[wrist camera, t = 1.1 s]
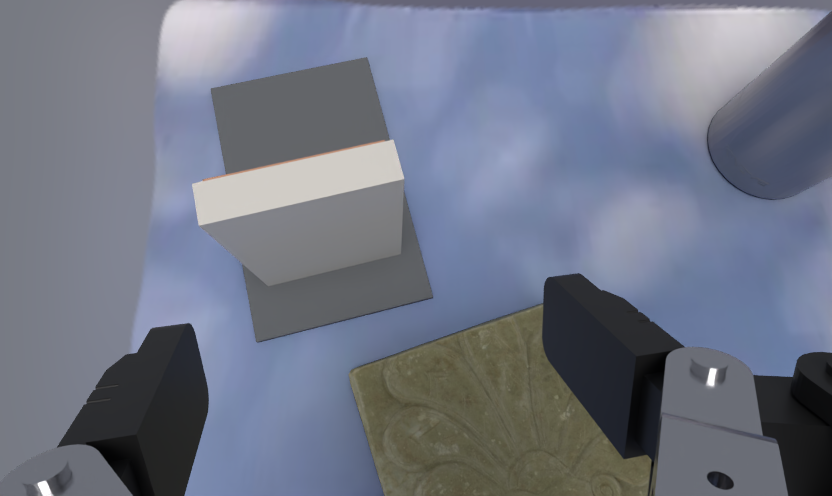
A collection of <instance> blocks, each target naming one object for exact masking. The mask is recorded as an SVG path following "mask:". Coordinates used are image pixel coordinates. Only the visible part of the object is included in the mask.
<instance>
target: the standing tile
mask: <svg viewBox="0 0 832 496" xmlns="http://www.w3.org/2000/svg"><path fill="white" fill-rule="evenodd" d="M192 186H193V192H194V198H195V205H196V211H197V217H198V223H199V226H200V227H201V228H202V229H203V230H204V231H205V232H207V233H208V234H209V235H210V236H211V237H212V238H213V239H215V240H216V241H217V242H218V243H219V244H220V245H221V246H223V247H224V248H225V249H226V250H227V251H228V252H229V253H231V254H232V255H233V256H234V257H235V258H236V259H237V260H239V261H240V262H241V263H242V264H243V265H244V266H245V267H247V268H248V269H249V270H250V271H251V272H252V273H253V274H255V275H256V276H257V277H258V278H259V279H260V280H261V281H263V282H264V283H265V284H266V285H267V286H272V285H276V284H280V283H284V282H288V281H292V280H296V279H300V278H305V277H309V276H313V275H317V274H321V273H325V272H329V271H333V270H337V269H341V268H346V267H350V266H354V265H358V264H362V263H366V262H370V261H374V260H378V259H383V258H387V257H391V256H395V255H399V254H401V243H402V220H403V197H404V176H403V172H402V169H401V165H400V162H399V158H398V154H397V151H396V147H395V144H394V140H389V141H385V140H381V141H377V142H372V143H368V144H363V145H359V146H354V147H349V148H345V149H340V150H336V151H331V152H327V153H322V154H317V155H313V156H308V157H304V158H299V159H295V160H290V161H285V162H281V163H276V164H272V165H267V166H263V167H258V168H253V169H249V170H244V171H240V172H235V173H231V174H226V175H221V176H217V177H212V178H208V179H203V181H202V182H198V183H193V184H192Z"/></svg>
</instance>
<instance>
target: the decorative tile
mask: <svg viewBox="0 0 832 496" xmlns="http://www.w3.org/2000/svg"><path fill="white" fill-rule="evenodd" d="M542 324H543V303H542V304H539V305H536V306H533V307H530V308H527V309H524V310H521V311H518V312H515V313H512V314H509V315H506V316H503V317H500V318H496V319H493V320H490V321H487V322H485V323H482V324H479V325H476V326H473V327H471V328H468V329H465V330H462V331H459V332H456V333H454V334H451V335H448V336H445V337H442V338H439V339H436V340H433V341H430V342H427V343H424V344H421V345H418V346H416V347H413V348H410V349H408V350H405V351H402V352H399V353H397V354H394V355H391V356H388V357H385V358H383V359H380V360H377V361H374V362H371V363H368V364H365V365H362V366H359V367H357V368H354V369H352V370H351V371H350V373H349V378H350V383H351V387H352V390H353V393H354V397H355V400H356V403H357V407H358V410H359V413H360V416H361V420H362V423H363V426H364V430H365V433H366V436H367V440H368V443H369V446H370V450H371V453H372V456H373V460H374V463H375V467H376V470H377V473H378V476H379V480H380V483H381V486H382V489H383V493H384V496H647V491H648V482H649V473H650V466H651V459H650V458H649V456H648V455H644V456H639V457H634V458H629V459H623V458H622V456H621V455H620V454H619V453H618V451H617V450H616V449H615V447H614V446H613V445H612V443H611V442H610V441H609V439H608V438H607V437H606V436H605V434H604V433H603V432H602V430H601V429H600V428H599V426H598V425H597V424H596V422H595V421H594V420H593V419H592V417H591V416H590V415H589V413H588V412H587V411H586V409H585V408H584V407H583V405H582V404H581V403H580V402H579V400H578V399H577V398H576V396H575V395H574V394H573V392H572V391H571V390H570V388H569V387H568V386H567V385H566V383H565V382H564V381H563V379H562V378H561V377H560V375H559V374H558V373H557V371H556V370H555V369H554V368H553V366H552V365H551V364H550V362H549V361H548V359H547V357H546V354H545V351H544V348H543V342H542Z"/></svg>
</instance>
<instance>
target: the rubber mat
mask: <svg viewBox="0 0 832 496" xmlns="http://www.w3.org/2000/svg"><path fill="white" fill-rule="evenodd" d="M211 94H212V99H213V105H214V110H215V116H216V121H217V127H218V132H219V138H220V143H221V149H222V155H223V160H224V166H225V171H226V174H231V173H235V172H240V171H244V170H249V169H253V168H258V167H263V166H267V165H272V164H276V163H281V162H285V161H290V160H295V159H299V158H304V157H308V156H313V155H317V154H322V153H327V152H331V151H336V150H340V149H345V148H349V147H354V146H359V145H363V144H368V143H372V142H377V141H381V140H385V141H389V140H390V139H389V135H388V132H387V128H386V124H385V121H384V117H383V113H382V110H381V106H380V103H379V99H378V95H377V92H376V88H375V84H374V81H373V77H372V73H371V70H370V66H369V63H368V59H367V57H366V58H361V59H356V60H351V61H346V62H341V63H336V64H331V65H326V66H321V67H316V68H311V69H306V70H301V71H296V72H291V73H286V74H281V75H276V76H271V77H266V78H261V79H256V80H251V81H246V82H241V83H236V84H231V85H226V86H221V87H216V88H211ZM242 266H243V271H244V277H245V282H246V288H247V293H248V299H249V304H250V310H251V315H252V321H253V327H254V332H255V338H256V342H262V341H266V340H270V339H273V338H277V337H281V336H285V335H289V334H293V333H297V332H301V331H305V330H309V329H313V328H317V327H321V326H325V325H328V324H332V323H336V322H340V321H344V320H348V319H352V318H356V317H360V316H364V315H368V314H372V313H376V312H379V311H383V310H387V309H391V308H395V307H399V306H403V305H407V304H411V303H415V302H419V301H423V300H427V299H431V298H433V295H432V291H431V288H430V284H429V281H428V277H427V273H426V270H425V266H424V262H423V259H422V255H421V251H420V248H419V244H418V241H417V237H416V233H415V230H414V226H413V222H412V219H411V215H410V211H409V208H408V204H407V201H406V197H405V193H404V197H403V220H402V243H401V254H399V255H395V256H391V257H387V258H383V259H378V260H374V261H370V262H366V263H362V264H358V265H354V266H350V267H346V268H341V269H337V270H333V271H329V272H325V273H321V274H317V275H313V276H309V277H305V278H300V279H296V280H292V281H288V282H284V283H280V284H276V285H272V286H267V285H266V284H265V283H264V282H263V281H261V280H260V279H259V278H258V277H257V276H256V275H255V274H253V273H252V272H251V271H250V270H249V269H248V268H247V267H245V266H244V265H243V264H242Z"/></svg>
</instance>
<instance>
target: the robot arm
mask: <svg viewBox="0 0 832 496" xmlns="http://www.w3.org/2000/svg"><path fill="white" fill-rule="evenodd" d="M708 144H709V150H710V153H711V156H712V159H713V161H714V163H715V164H716V166H717V168H718V169H719V171H720V172H721V173H722V174H723V175H724V177H725V178H726V179H727V180H728V181H730V182H731V183H732V184H733V185H735V186H736V187H737V188H739V189H741V190H743V191H744V192H746V193H748V194H751V195H754V196H757V197H760V198H767V199H784V198H787V197H791V196H794V195H796V194H798V193H800V192H802V191H804V190H806V189H808V188H810V187H812V186H814V185H816V184H818V183H820V182H822V181H824V180H826V179H828V178H830V177H832V11H831V12H830V13H829V14H828V15H827V16H826V17H824V18H823V19H822V20H821V21H820V22H819V23H818V24H817V25H815V26H814V27H813V28H812V29H811V30H810V31H809V32H807V33H806V34H805V35H804V36H803V37H802V38H801V39H800V40H798V41H797V42H796V43H795V44H794V45H793V46H792V47H790V48H789V49H788V50H787V51H786V52H785V53H784V54H783V55H781V56H780V57H779V58H778V59H777V60H776V61H775V62H774V63H772V64H771V65H770V66H769V67H768V68H767V69H766V70H764V71H763V72H762V73H761V74H760V75H759V76H758V77H757V78H755V79H754V80H753V81H752V82H751V83H749V84H748V85H747V86H746V87H745V88H744V89H743V90H742V91H740V92H739V93H738V94H737V95H736V96H735V97H734V98H733V99H732V100H730V101H729V102H728V103H727V104H726V105H725V106H724V107H723V108H721V109H720V110H719V111H718V112H717V114H716V115H715V116H714V118H713V119H712V122H711V124H710V127H709V133H708ZM542 342H543V348H544V351H545V354H546V357H547V359H548V361H549V362H550V364H551V365H552V366H553V368H554V369H555V370H556V371H557V373H558V374H559V375H560V377H561V378H562V379H563V381H564V382H565V383H566V385H567V386H568V387H569V388H570V390H571V391H572V392H573V394H574V395H575V396H576V398H577V399H578V400H579V402H580V403H581V404H582V405H583V407H584V408H585V409H586V411H587V412H588V413H589V415H590V416H591V417H592V419H593V420H594V421H595V422H596V424H597V425H598V426H599V428H600V429H601V430H602V432H603V433H604V434H605V436H606V437H607V438H608V439H609V441H610V442H611V443H612V445H613V446H614V447H615V449H616V450H617V451H618V453H619V454H620V455H621V456H622V458H623V459H629V458H634V457H639V456H644V455H648V456H649V458H650V459H651V466H650V473H649V482H648V491H647V496H832V353H827V352H813V353H807V354H804V355H802V356H801V357H799V358H798V360H797V363H796V367H795V371H794V375H793V377H779V376H758V375H753V374H752V372H751V370H750V369H749V368H748V367H747V366H746V365H745V364H744V363H743V362H741V361H740V360H738V359H737V358H735V357H733V356H731V355H729V354H726V353H723V352H720V351H717V350H713V349H709V348H702V347H684V346H683V345H682V344H680V343H679V342H678V341H677V340H675V339H674V338H673V337H671V336H670V335H669V334H668V333H666V332H665V331H664V330H663V329H661V328H660V327H659V326H658V325H656V324H655V323H654V322H653V321H652V322H650V320H649V318H648V317H646V316H645V315H644V314H643V313H641V312H638V310H637V309H636V308H635V307H634V306H632V305H631V304H630V303H629V302H627V301H626V300H625V299H623V298H621V297H619V296H616V295H614V294H611V293H609V292H607V291H604V290H602V291H601V290H600V289H598V288H597V287H596V286H595V285H594V284H592V283H591V282H590V281H589V280H588V279H586V278H585V277H584V276H583V275H581V274H579V273H578V274H570V275H562V276H554V277H549V278H547V279H546V281H545V285H544V301H543V324H542ZM208 404H209V397H208V387H207V382H206V378H205V373H204V369H203V365H202V361H201V356H200V352H199V348H198V344H197V339H196V335H195V332H194V329H193V327H192V325H191V324H189V323H187V324H179V325H171V326H164V327H156V328H152V329H151V330H150V331H149V333H148V334H147V336H146V338H145V340H144V341H143V343H142V345H141V347H140V348H139V350H138V352H137V353H134V354H127V355H125V356H124V357H122V358H121V359H120V360H119V361H118V362H116V363H115V364H114V365H112V366H111V367H110V368H109V369H107V370H106V372H105V373H104V375H103V376H102V378H101V379H100V381H99V382H98V384H97V385H96V390H94V391H93V392H92V393H91V395H90V396H89V398H88V400H87V404H86V405H84V406H83V407H82V409H81V410H80V412H79V414H78V415H77V417H76V418H75V420H74V421H73V423H72V425H71V426H70V428H69V429H68V431H67V432H66V434H65V436H64V437H63V439H62V440H61V442H60V443H59V445H58V447H57V448H55V449H52V450H49V451H46V452H44V453H41V454H39V455H37V456H35V457H33V458H31V459H29V460H27V461H25V462H24V463H22V464H21V465H19V466H18V467H16V468H15V469H14V470H12V471H11V472H10V473H9V474H8V475H7V476H5V477H4V478H3V479H2V481H1V482H0V496H184V494H185V491H186V487H187V484H188V480H189V477H190V473H191V470H192V466H193V463H194V459H195V456H196V452H197V449H198V445H199V442H200V438H201V435H202V431H203V428H204V424H205V421H206V417H207V413H208Z"/></svg>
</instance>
